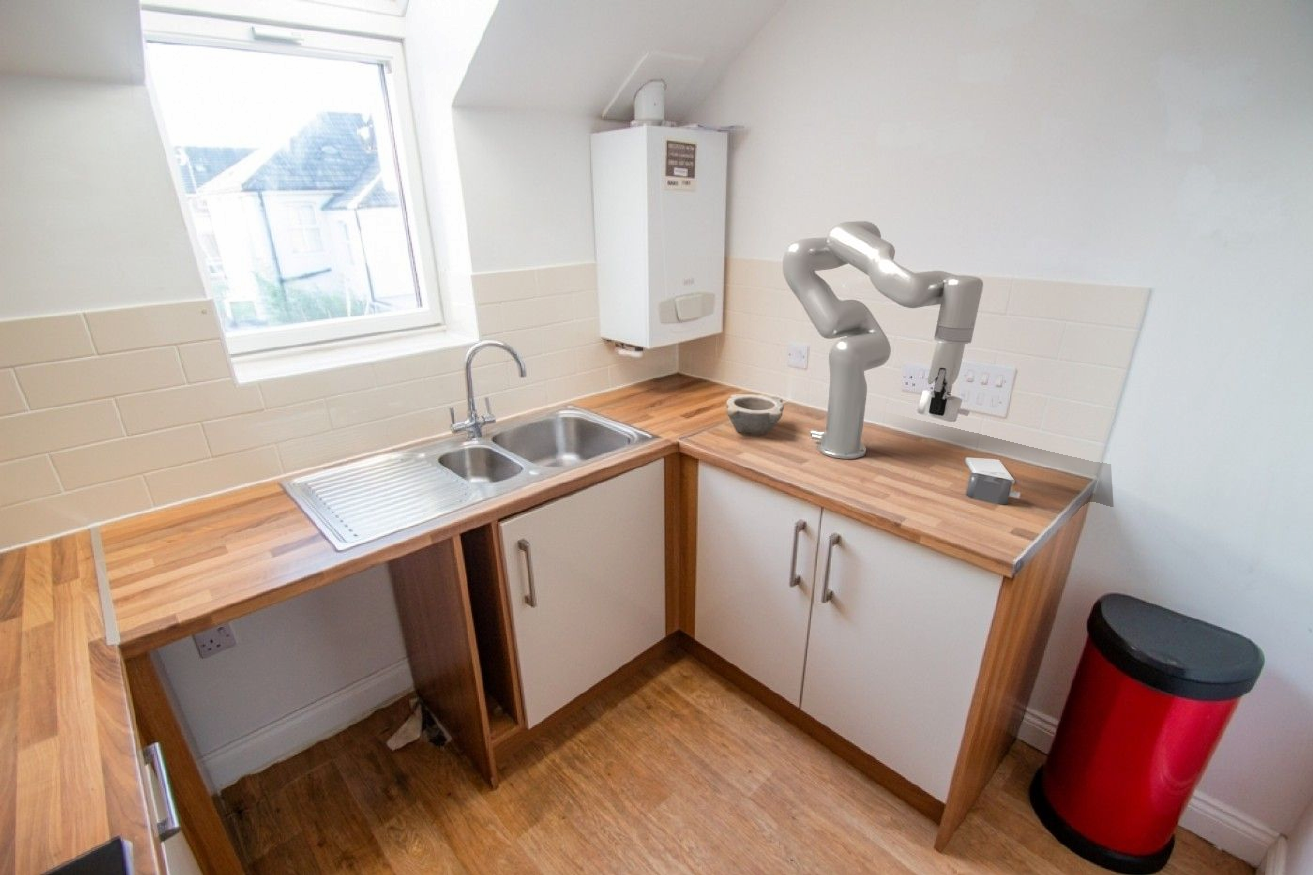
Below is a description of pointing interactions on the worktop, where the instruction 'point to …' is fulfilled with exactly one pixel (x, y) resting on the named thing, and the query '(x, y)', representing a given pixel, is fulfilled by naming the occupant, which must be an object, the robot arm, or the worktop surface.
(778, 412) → the mortar
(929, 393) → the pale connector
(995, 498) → the charcoal connector
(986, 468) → the external hard drive
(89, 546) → the worktop surface
